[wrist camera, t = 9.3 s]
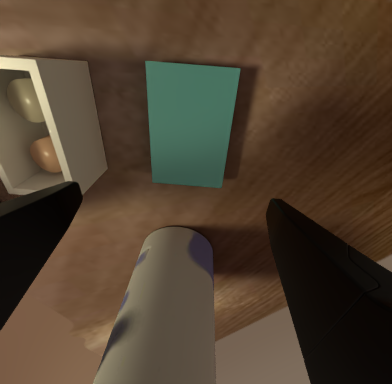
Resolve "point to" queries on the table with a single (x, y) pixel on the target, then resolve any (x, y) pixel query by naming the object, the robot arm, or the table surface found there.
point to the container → (165, 315)
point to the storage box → (48, 124)
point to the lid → (190, 121)
